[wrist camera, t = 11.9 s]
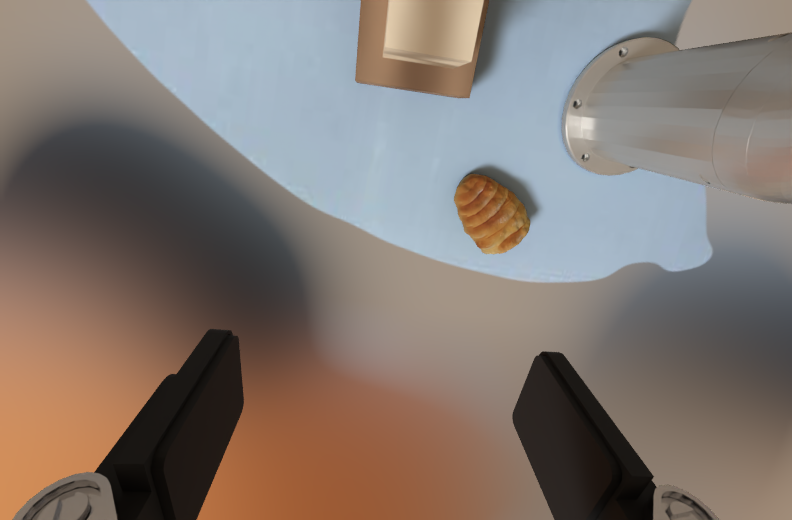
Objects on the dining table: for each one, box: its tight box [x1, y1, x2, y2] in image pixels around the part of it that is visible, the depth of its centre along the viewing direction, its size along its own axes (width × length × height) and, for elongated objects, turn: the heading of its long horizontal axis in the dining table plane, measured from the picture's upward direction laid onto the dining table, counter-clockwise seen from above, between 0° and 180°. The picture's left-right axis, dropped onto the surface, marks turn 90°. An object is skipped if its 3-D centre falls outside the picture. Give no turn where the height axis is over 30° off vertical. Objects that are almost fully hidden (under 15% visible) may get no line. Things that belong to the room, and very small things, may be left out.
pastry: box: [454, 174, 530, 254], centre depth 37 cm, size 9×7×4 cm
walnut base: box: [355, 0, 489, 98], centre depth 29 cm, size 10×10×4 cm
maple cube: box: [383, 0, 484, 69], centre depth 24 cm, size 6×6×6 cm
